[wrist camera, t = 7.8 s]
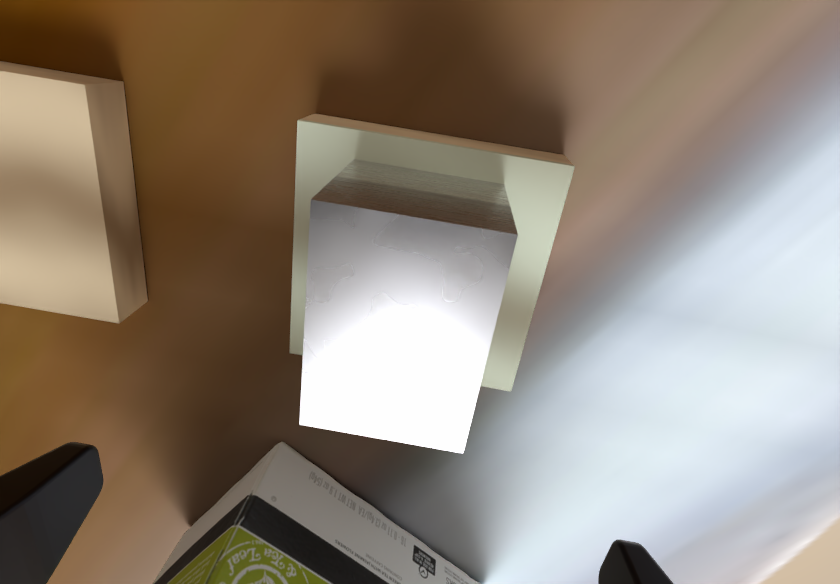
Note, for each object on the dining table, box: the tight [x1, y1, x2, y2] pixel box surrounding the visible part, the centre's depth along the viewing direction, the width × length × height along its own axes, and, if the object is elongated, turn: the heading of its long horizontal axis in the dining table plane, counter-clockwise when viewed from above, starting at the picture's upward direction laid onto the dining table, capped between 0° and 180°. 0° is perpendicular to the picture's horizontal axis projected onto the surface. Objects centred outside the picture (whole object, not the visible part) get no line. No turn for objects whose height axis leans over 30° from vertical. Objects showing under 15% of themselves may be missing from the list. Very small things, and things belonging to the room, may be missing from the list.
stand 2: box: [289, 114, 575, 391], centre depth 19 cm, size 9×9×2 cm
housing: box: [299, 159, 518, 453], centre depth 16 cm, size 7×5×5 cm
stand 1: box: [0, 61, 148, 323], centre depth 19 cm, size 9×9×2 cm
